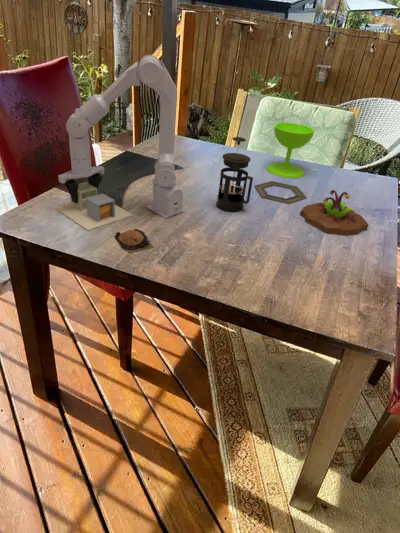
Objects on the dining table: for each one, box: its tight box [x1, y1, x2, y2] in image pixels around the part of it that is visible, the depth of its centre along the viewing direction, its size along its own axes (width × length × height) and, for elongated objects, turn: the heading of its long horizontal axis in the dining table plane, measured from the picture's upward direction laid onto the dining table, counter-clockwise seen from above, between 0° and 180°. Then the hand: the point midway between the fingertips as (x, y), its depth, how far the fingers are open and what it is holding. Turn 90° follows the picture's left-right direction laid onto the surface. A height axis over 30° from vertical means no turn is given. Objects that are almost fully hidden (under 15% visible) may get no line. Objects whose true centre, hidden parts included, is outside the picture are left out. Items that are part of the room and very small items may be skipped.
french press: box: [215, 136, 254, 213], centre depth 129 cm, size 12×9×23 cm
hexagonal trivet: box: [253, 180, 308, 205], centre depth 149 cm, size 17×20×1 cm
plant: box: [299, 189, 369, 236], centre depth 130 cm, size 20×20×11 cm
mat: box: [54, 198, 133, 232], centre depth 123 cm, size 18×16×1 cm
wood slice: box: [113, 228, 154, 254], centre depth 110 cm, size 11×9×4 cm
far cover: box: [69, 181, 98, 209], centre depth 124 cm, size 6×6×6 cm
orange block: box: [99, 203, 111, 220], centre depth 120 cm, size 4×4×4 cm
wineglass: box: [266, 122, 315, 179], centre depth 165 cm, size 16×16×18 cm
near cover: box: [85, 193, 116, 222], centre depth 119 cm, size 6×6×6 cm
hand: (84, 199), depth 125 cm, fingers closed on far cover, 6 cm apart
